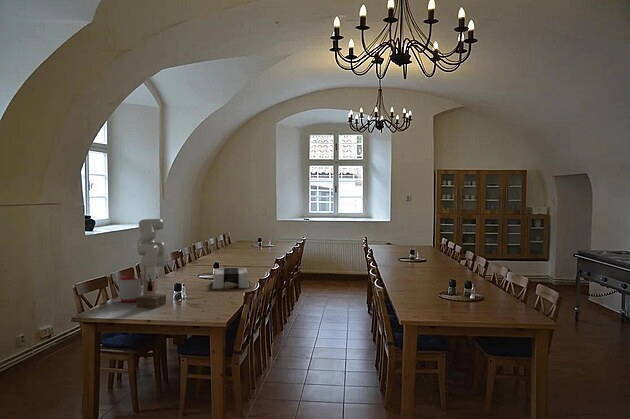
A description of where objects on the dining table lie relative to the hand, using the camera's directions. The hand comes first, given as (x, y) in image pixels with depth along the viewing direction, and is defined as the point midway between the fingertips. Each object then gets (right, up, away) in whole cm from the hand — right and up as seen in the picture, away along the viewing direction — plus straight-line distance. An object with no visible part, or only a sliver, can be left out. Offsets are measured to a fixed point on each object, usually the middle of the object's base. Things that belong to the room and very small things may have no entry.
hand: (151, 289), depth 344 cm
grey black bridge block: (+42, -9, +77) cm, 88 cm away
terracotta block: (0, -2, 0) cm, 2 cm away
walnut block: (0, -11, +1) cm, 11 cm away
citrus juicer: (-19, -10, +15) cm, 27 cm away
